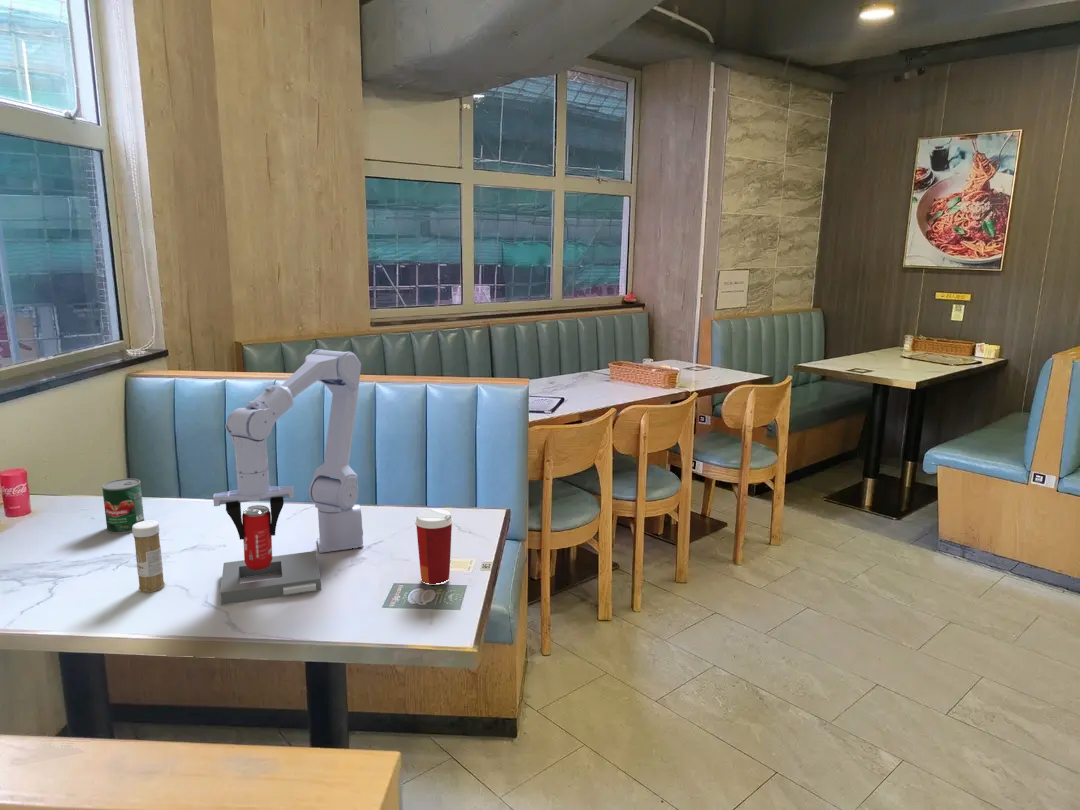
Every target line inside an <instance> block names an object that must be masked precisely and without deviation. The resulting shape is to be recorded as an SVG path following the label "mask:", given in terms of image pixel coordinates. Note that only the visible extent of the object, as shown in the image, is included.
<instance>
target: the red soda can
mask: <svg viewBox="0 0 1080 810" xmlns="http://www.w3.org/2000/svg"><path fill="white" fill-rule="evenodd" d="M269 508H270V507H268V506H266V505H262V504H261V505H260V504H259V505H258V504H257V505H251V506H247V507H246V508H245V509H244V510H243V511H242V512H243V513H242V514H241V518H242V524H243V535H244V539H242V540H243V554H244V555H243V558H244V559H243V560H245V564H246V565H247V568H248V569H250V570H263V569H266V568H268V567H269V566H270V563H271V561H272V556H273V540H272V539H273V536H272V535H271V510H270V509H269Z"/></svg>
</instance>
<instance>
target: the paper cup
mask: <svg viewBox="0 0 1080 810" xmlns="http://www.w3.org/2000/svg"><path fill="white" fill-rule="evenodd" d="M413 521H414V525H415V526H416V537H417V549H418V558H419V567H420V568H419V569H420V578H421V579H422V580H421V579H420V580H421V582H422V581H423V582H425V583H429V584H436V583H441V582H444V581H446V580H448V579H449V580H450V574H451V572H450V569H451V568H450V567H451V554H452V553H451V550H452V548H451V547H452V530H453V529H452V526H453V523H454V518H453V517H452V514H451V512H449V511H448V510H445V509H439V508H438V509H437V508H434V509H426V510H422V511H420V512H418V514H417V515H416V517H415V519H414V520H413Z"/></svg>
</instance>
